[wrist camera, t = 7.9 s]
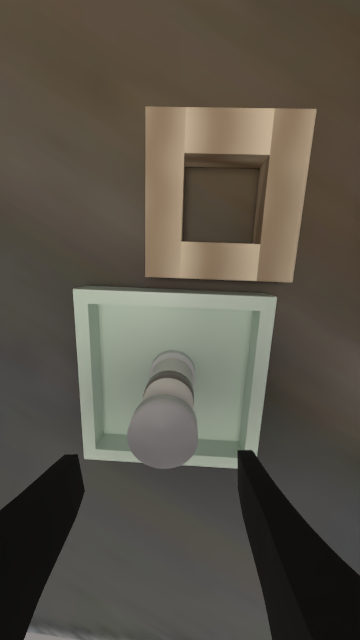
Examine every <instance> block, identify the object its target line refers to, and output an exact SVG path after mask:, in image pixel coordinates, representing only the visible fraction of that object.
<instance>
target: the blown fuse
mask: <svg viewBox="0 0 360 640" xmlns="http://www.w3.org/2000/svg"><path fill="white" fill-rule="evenodd" d="M194 383H195V367H194V363H193V361H192V360H191V358H190V357H189V356H188V355H186V354H185V353H183V352H181V351H178V350H168V351H164V352H162V353H160V354H159V355H158V356H157V357H156V358H155V359H154V361H153V363H152V366H151V368H150V372H149V381H148V383H147V385H146V388H145V391H144V394H143V399H142V402H141V403H140V404H139V405H138V406H137V408H136V410H135V412H134V414H133V417H132V419H131V422H130V425H129V427H128V431H127V442H128V446H129V448H130V450H131V452H132V453H133V455H134V456H135V457H136V458H137V459H138V460H139V461H141V462H142V463H144V464H146V465H148V466H150V467H154V468H159V469H170V468H175V467H178V466H180V465H182V464H184V463H186V462H187V461H188V460H189V459H190V458H191V457H192V456H193V454H194V453H195V451H196V448H197V445H198V426H197V418H196V415H195V412H194V411H193V405H194V390H193V385H194Z"/></svg>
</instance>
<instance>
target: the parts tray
mask: <svg viewBox="0 0 360 640" xmlns="http://www.w3.org/2000/svg"><path fill="white" fill-rule="evenodd" d="M73 298H74V313H75V328H76V343H77V359H78V374H79V389H80V404H81V419H82V434H83V449H84V459H94V460H110V461H126V462H141V461H139V460H138V459H137V458H136V457H135V456H134V455H133V453H132V452H131V450H130V448H129V446H128V442H127V431H128V427H129V425H130V422H131V419H132V417H133V414H134V412H135V410H136V408H137V406H138V405H139V404H140V403H141V402H142V399H143V394H144V391H145V388H146V385H147V383H148V381H149V372H150V368H151V366H152V363H153V361H154V359H155V358H156V357H157V356H158V355H159V354H160V353H162V352H164V351H168V350H178V351H181V352H183V353H185V354H186V355H188V356H189V357H190V358H191V360H192V361H193V363H194V367H195V383H194V385H193V390H194V405H193V411H194V412H195V415H196V418H197V426H198V445H197V448H196V451H195V453H194V454H193V456H192V457H191V458H190V459H189V460H188V461H187V462H186V463H184V464H182V465H189V466H205V467H221V468H237V469H238V459H237V450H252V451H253V452H254V453H255V455H256V456H257V451H258V443H259V436H260V428H261V420H262V412H263V404H264V396H265V388H266V380H267V373H268V365H269V357H270V349H271V341H272V333H273V325H274V317H275V309H276V302H277V297H275V296H273V295H270V294H268V293H261V292H236V291H210V290H185V289H159V288H134V287H108V286H84V287H80V288H75V289H73Z"/></svg>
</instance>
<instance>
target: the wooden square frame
mask: <svg viewBox="0 0 360 640" xmlns="http://www.w3.org/2000/svg"><path fill="white" fill-rule="evenodd" d="M315 116H316V109H274V108H205V107H146V186H145V277H162V278H189V279H215V280H242V281H268V282H292V281H293V274H294V267H295V260H296V253H297V246H298V238H299V231H300V224H301V217H302V210H303V203H304V195H305V188H306V181H307V174H308V167H309V159H310V152H311V145H312V138H313V131H314V124H315ZM185 167H221V168H260V172H259V183H258V193H257V203H256V213H255V223H254V233H253V243H252V244H240V243H209V242H183V213H184V185H185Z"/></svg>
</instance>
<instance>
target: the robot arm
mask: <svg viewBox="0 0 360 640" xmlns="http://www.w3.org/2000/svg"><path fill="white" fill-rule="evenodd" d="M237 459H238V491H239V497H240V503H241V509H242V515H243V519H244V523H245V527H246V531H247V534H248V538H249V542H250V546H251V549H252V553H253V557H254V561H255V565H256V568H257V572H258V576H259V580H260V583H261V587H262V592H263V596H264V600H265V605H266V610H267V615H268V620H269V625H270V630H271V635H272V640H360V576H359V575H358V574H357V573H356V572H355V571H354V570H353V569H352V568H351V567H350V566H349V565H348V564H346V563H345V562H344V561H343V560H342V559H341V558H340V557H339V556H338V555H337V554H336V553H335V552H334V551H333V550H332V549H331V548H330V547H329V546H328V545H327V544H326V543H325V542H324V541H323V539H322V538H321V537H320V536H319V535H318V534H317V533H316V532H315V531H314V530H313V529H312V528H311V527H310V525H309V524H308V523H307V522H306V521H305V520H304V519H303V518H302V516H301V515H300V514H299V513H298V512H297V510H296V509H295V508H294V507H293V506H292V505H291V503H290V502H289V501H288V500H287V498H286V497H285V496H284V494H283V493H282V492H281V491H280V489H279V488H278V487H277V485H276V484H275V483H274V481H273V480H272V479H271V477H270V476H269V474H268V473H267V471H266V470H265V469H264V467H263V466H262V464H261V463H260V461H259V460H258V458H257V456H256V455H255V453H254V452H253V451H252V450H237ZM84 492H85V490H84V485H83V480H82V474H81V469H80V464H79V459H78V454H73V455H64V456H63V457H61V458H60V459H59V460H58V461H57V462H56V463H54V464H53V465H52V466H51V467H50V468H49V469H48V470H47V471H45V472H44V473H43V474H42V475H41V476H40V477H39V478H38V479H37V480H35V481H34V482H33V483H32V484H31V485H30V486H29V487H27V488H26V489H25V490H24V491H23V492H22V493H21V494H19V495H18V496H17V497H16V498H15V499H13V500H12V501H11V502H10V503H9V504H7V505H6V506H5V507H4V508H3V509H1V510H0V640H24V638H25V635H26V632H27V630H28V627H29V624H30V622H31V619H32V616H33V614H34V611H35V608H36V606H37V603H38V601H39V598H40V596H41V594H42V591H43V589H44V586H45V584H46V582H47V580H48V578H49V575H50V573H51V571H52V569H53V567H54V565H55V562H56V560H57V558H58V556H59V554H60V552H61V549H62V547H63V545H64V543H65V541H66V538H67V536H68V534H69V532H70V530H71V527H72V525H73V523H74V521H75V518H76V516H77V513H78V510H79V507H80V504H81V501H82V498H83V495H84Z"/></svg>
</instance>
